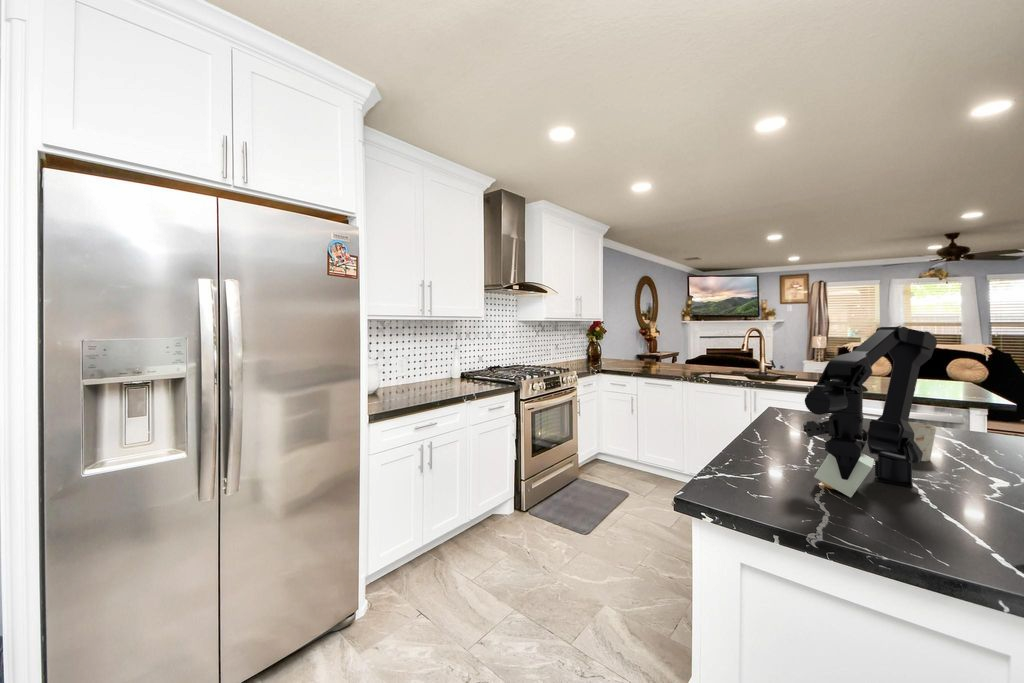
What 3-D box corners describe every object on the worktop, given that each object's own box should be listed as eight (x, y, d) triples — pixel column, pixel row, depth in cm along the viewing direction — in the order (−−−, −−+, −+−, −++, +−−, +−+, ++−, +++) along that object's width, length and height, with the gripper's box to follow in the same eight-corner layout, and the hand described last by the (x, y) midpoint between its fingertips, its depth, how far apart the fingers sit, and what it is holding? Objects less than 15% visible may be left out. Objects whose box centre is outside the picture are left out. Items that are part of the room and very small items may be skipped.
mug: (944, 463, 114) (944, 428, 114) (892, 461, 117) (892, 427, 116) (920, 454, 122) (920, 422, 122) (873, 452, 125) (873, 421, 125)
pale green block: (854, 488, 99) (874, 459, 96) (850, 497, 94) (872, 467, 91) (819, 468, 104) (837, 440, 101) (813, 476, 98) (832, 447, 96)
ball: (828, 461, 101) (816, 476, 103) (824, 467, 98) (813, 482, 100) (851, 474, 98) (839, 490, 100) (848, 480, 95) (835, 496, 97)
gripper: (812, 401, 109) (812, 458, 109) (798, 412, 96) (798, 477, 96) (867, 406, 101) (866, 467, 101) (860, 419, 88) (859, 489, 88)
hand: (846, 474), depth 97 cm, fingers closed on pale green block, 8 cm apart
